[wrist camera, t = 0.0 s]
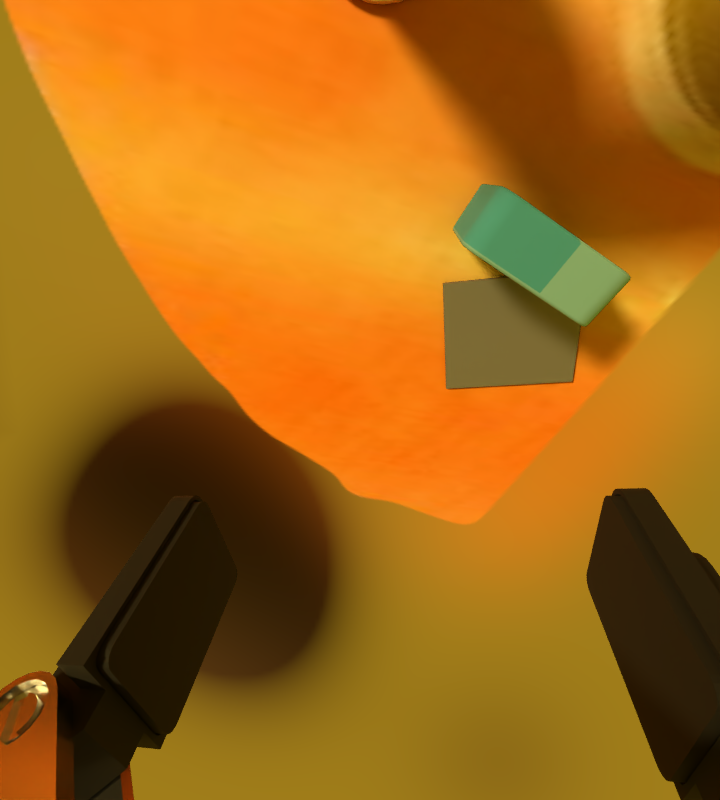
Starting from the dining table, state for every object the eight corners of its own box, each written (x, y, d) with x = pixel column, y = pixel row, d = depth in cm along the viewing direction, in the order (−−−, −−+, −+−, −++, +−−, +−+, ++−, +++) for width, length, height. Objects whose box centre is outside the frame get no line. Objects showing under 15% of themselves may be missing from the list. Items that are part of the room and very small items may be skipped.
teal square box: (581, 253, 39) (640, 281, 29) (548, 293, 41) (591, 333, 31) (480, 182, 38) (503, 184, 27) (450, 227, 40) (461, 246, 29)
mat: (442, 283, 43) (443, 284, 42) (587, 268, 40) (589, 269, 40) (446, 386, 49) (446, 388, 49) (570, 379, 47) (572, 381, 46)
